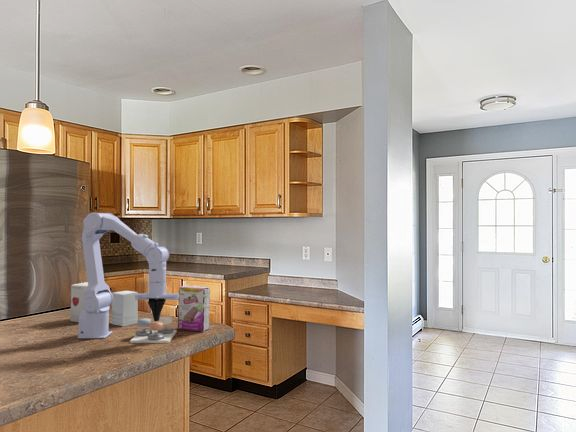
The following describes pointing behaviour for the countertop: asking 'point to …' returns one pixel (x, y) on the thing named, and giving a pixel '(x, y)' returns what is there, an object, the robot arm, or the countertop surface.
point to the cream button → (166, 320)
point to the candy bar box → (193, 308)
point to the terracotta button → (156, 326)
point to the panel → (154, 336)
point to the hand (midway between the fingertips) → (156, 320)
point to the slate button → (143, 322)
